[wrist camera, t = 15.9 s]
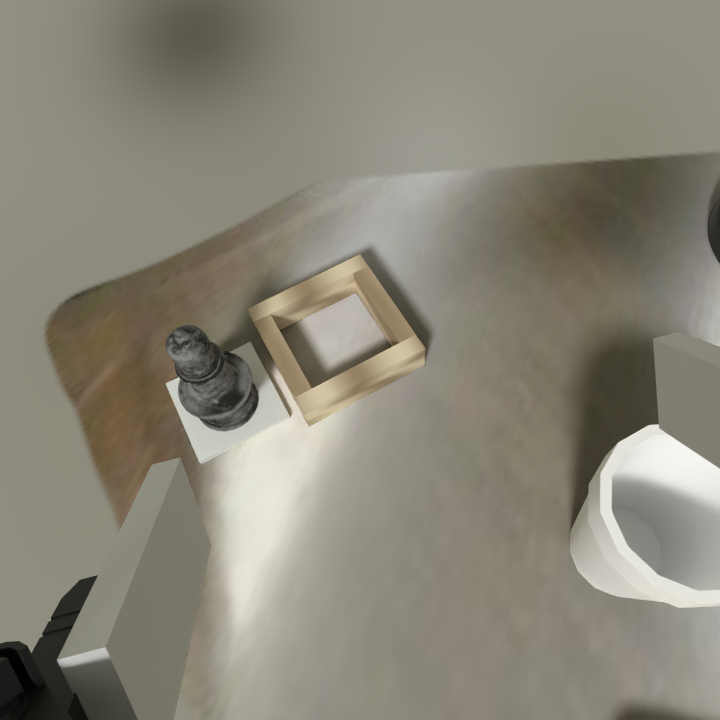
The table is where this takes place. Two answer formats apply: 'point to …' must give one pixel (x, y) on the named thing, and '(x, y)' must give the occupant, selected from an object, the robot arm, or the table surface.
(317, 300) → the wooden square frame
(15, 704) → the robot arm
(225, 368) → the dark chess piece
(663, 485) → the foam cup
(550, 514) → the table surface
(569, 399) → the table surface
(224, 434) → the white mat
